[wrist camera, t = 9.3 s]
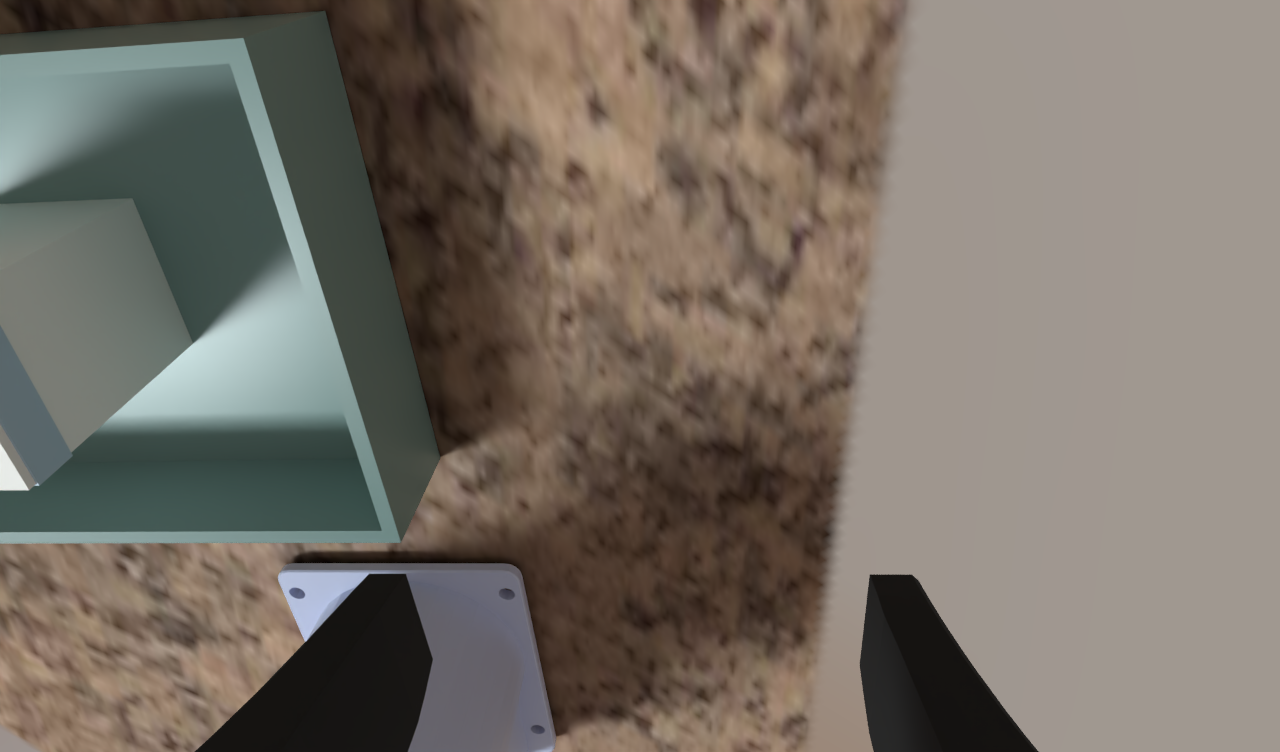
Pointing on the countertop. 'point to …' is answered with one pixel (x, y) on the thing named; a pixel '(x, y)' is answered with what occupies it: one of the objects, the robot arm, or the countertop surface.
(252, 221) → the tray
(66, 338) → the milk carton
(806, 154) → the countertop surface
